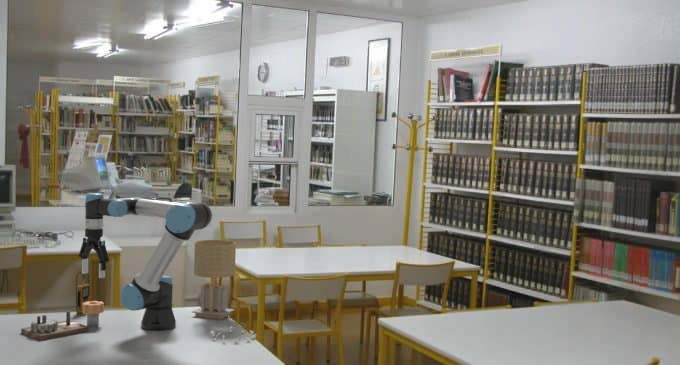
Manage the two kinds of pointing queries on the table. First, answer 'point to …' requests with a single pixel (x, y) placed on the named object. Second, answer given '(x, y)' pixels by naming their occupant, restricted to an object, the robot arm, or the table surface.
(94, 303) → the loose gear
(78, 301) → the multimeter
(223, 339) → the game piece set
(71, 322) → the gear board
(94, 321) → the smooth gray pebble
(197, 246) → the desk lamp
